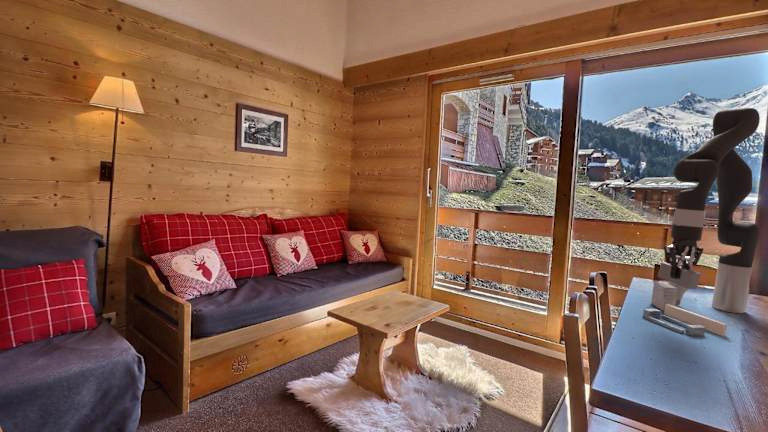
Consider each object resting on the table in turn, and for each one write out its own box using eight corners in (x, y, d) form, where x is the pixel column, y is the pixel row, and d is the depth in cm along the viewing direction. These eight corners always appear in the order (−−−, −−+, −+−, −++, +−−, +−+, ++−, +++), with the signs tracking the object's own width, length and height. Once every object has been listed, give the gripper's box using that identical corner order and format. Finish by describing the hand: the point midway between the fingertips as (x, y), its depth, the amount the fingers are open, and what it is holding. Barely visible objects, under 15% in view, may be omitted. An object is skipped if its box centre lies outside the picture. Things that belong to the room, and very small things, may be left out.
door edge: (667, 314, 133) (669, 304, 133) (725, 335, 116) (727, 324, 116) (664, 314, 133) (665, 304, 132) (721, 335, 116) (723, 324, 115)
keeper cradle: (657, 315, 131) (658, 308, 130) (707, 335, 115) (709, 327, 115) (639, 316, 129) (640, 309, 128) (688, 336, 113) (689, 328, 113)
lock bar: (665, 276, 126) (669, 262, 125) (696, 288, 117) (700, 273, 116) (657, 276, 125) (661, 262, 124) (687, 288, 116) (692, 273, 115)
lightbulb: (681, 304, 147) (686, 276, 146) (688, 309, 141) (693, 280, 140) (663, 301, 149) (667, 274, 148) (669, 306, 143) (673, 277, 142)
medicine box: (675, 312, 136) (678, 288, 135) (661, 310, 137) (664, 287, 136) (663, 305, 144) (667, 282, 143) (650, 303, 145) (653, 281, 144)
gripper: (691, 223, 124) (683, 275, 126) (658, 221, 120) (650, 275, 122) (717, 226, 117) (708, 281, 119) (682, 224, 113) (674, 281, 115)
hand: (679, 278), depth 120 cm, fingers closed on lock bar, 3 cm apart
